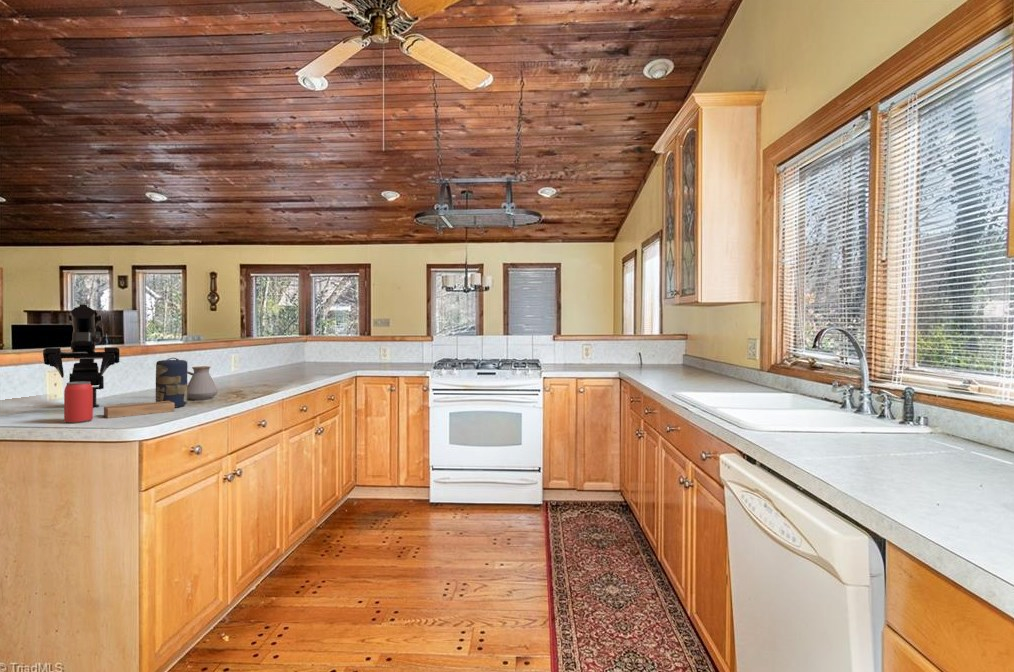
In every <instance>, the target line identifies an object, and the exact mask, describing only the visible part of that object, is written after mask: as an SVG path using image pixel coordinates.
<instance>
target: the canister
mask: <svg viewBox="0 0 1014 672" xmlns="http://www.w3.org/2000/svg"><path fill="white" fill-rule="evenodd" d="M187 371H188V360H185V359H179V358H177V357H169V358H167V359H163V360H158V361H156V364H155V402H161V401H171V402H174V403H175V408H177V407H178V408H179V407H183V406H184V407H185V406H186V405H187V403H188V397H187V386H188V374H187Z"/></svg>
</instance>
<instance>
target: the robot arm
mask: <svg viewBox="0 0 1014 672" xmlns="http://www.w3.org/2000/svg"><path fill="white" fill-rule="evenodd" d="M102 317H103V316H102V315H101V314H100V313H98V311H97V309H93V308H91V307H88V304H79V306H76V307H74V308H72V310H71V312H69V315H68V320H69V323H71V324H72V325H71V326H72V328H73V329H72V330H73V331H72V334H71V335H72V336H71V338H72V340H71V341H70V349H71V351H62V349H61V347H45V348H44V349H43V350H42V355H43V356H42V358H43V364H44V365H46V366H49V367H54V368H55V370H57V372H58V374H59V375H60V376H61V377H60V378H62V379H63V378H64V376H65V375H64V373H65V371H64V366H63V360H62V359H75V360H76V359H77V360H79V362H75V363H74V364H73V367H72V372H71V373H69V379H68V380H69V382H79V381H89V382H91V385H92V388H93V408H95V407H96V408H97V407H98V406H99V407H100V404H98V403H97V390H104V389H105V387H104V386H105V385H104V383H105V382H104V380H105V379H104V378H105V377H104V373H105V372H106V371H107V369H108V368H110V366H113V365H115V364H118V363H120V347H116V346H111V347H110V346H109V347H108V346H106V347H104V351H96V346H98V345H99V344H101V342H102V341H101V340H102V339H103V338H104V323H103V321H102ZM96 359H97V360H98V359H102V360H101V365H100V369H99V363H97V362H95V360H96Z"/></svg>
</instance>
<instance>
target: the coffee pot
mask: <svg viewBox="0 0 1014 672" xmlns="http://www.w3.org/2000/svg"><path fill="white" fill-rule="evenodd" d="M191 369H192V370H193V372H190V371H188V370H187V375H190V376H191V378H190V379H189V382H188V383H187V399H189V400H191V401H205V400H211V399H213V397H216V395H217V394H218V388H217V385H215V382H214V381H213V378H212V376H211V373H210V372H209V371H210V369H211V366H192V367H191Z"/></svg>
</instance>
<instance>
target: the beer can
mask: <svg viewBox="0 0 1014 672" xmlns="http://www.w3.org/2000/svg"><path fill="white" fill-rule="evenodd" d="M92 387H93V386H92V385H91V382H89V381H79V382H66V386H65V387H64V393H63V394H64V397H63V399H64V402H63V403H64V404H63V405H64V407H63V411H64V412H63V414H64V415H63V420H64V423H68V424H81V422H82V423H87V422H86V421H88V422H90V421H92V420H93V418H94V407H93V388H92Z"/></svg>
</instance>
